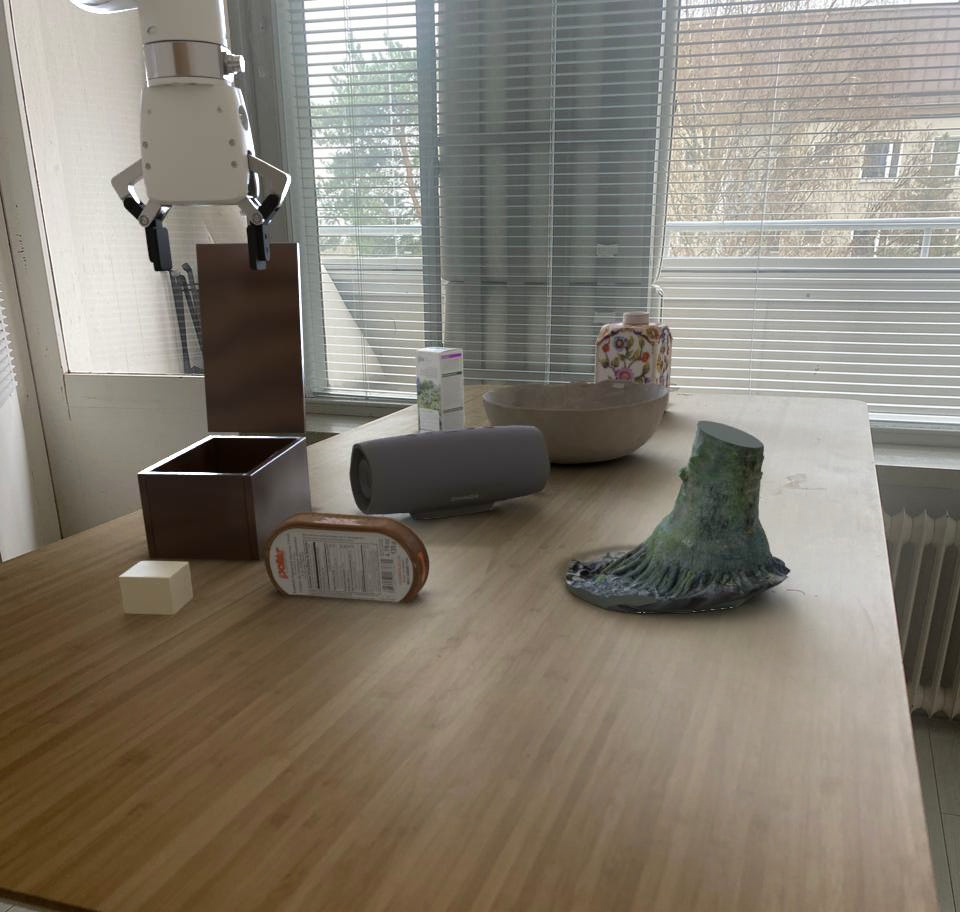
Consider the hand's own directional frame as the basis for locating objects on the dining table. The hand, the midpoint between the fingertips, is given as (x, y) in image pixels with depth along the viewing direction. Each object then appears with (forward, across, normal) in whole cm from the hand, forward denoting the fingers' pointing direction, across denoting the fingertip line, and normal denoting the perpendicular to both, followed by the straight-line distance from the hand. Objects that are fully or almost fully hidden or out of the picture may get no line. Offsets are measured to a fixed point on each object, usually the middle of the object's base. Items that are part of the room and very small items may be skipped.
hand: (211, 270), depth 96 cm
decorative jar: (+29, -47, -87) cm, 103 cm away
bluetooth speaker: (+28, -22, -14) cm, 38 cm away
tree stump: (+29, -46, +11) cm, 55 cm away
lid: (+8, 0, -12) cm, 14 cm away
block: (+28, 0, +22) cm, 36 cm away
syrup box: (+29, -15, -60) cm, 69 cm away
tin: (+28, -16, +18) cm, 37 cm away
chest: (+28, +1, -1) cm, 28 cm away
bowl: (+29, -36, -48) cm, 67 cm away
